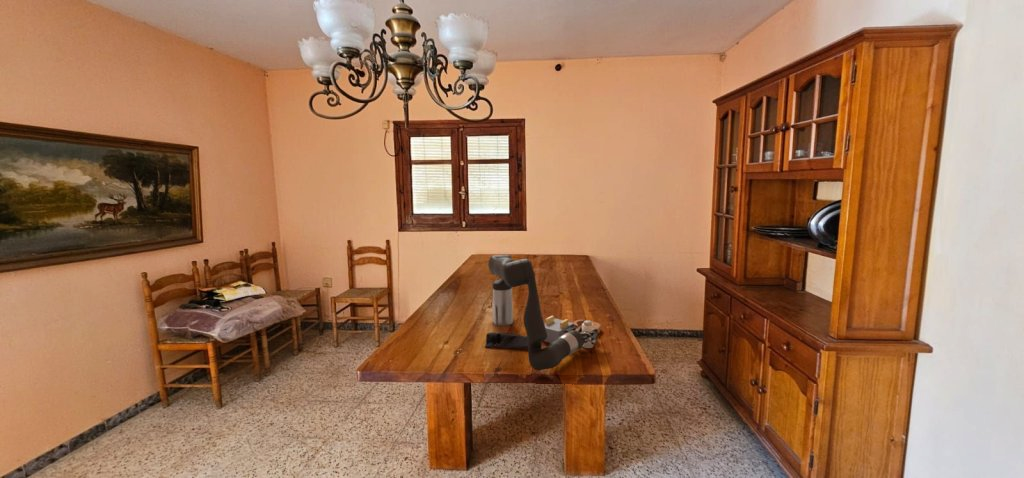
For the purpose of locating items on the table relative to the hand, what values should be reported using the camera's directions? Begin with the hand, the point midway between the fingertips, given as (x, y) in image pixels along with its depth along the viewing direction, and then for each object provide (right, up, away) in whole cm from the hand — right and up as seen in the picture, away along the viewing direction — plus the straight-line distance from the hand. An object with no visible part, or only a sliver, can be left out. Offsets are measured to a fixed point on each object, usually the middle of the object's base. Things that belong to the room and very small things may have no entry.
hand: (590, 329), depth 163 cm
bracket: (+1, -5, +11) cm, 12 cm away
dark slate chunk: (-32, -7, +4) cm, 33 cm away
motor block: (-12, -5, +9) cm, 16 cm away
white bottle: (-1, -6, -1) cm, 7 cm away
